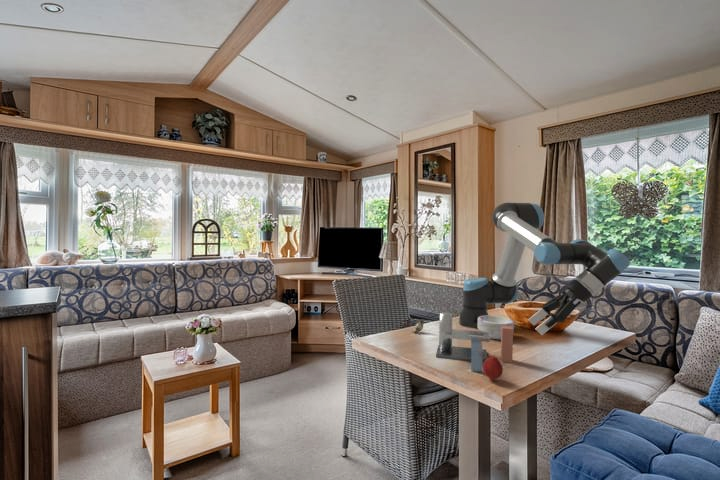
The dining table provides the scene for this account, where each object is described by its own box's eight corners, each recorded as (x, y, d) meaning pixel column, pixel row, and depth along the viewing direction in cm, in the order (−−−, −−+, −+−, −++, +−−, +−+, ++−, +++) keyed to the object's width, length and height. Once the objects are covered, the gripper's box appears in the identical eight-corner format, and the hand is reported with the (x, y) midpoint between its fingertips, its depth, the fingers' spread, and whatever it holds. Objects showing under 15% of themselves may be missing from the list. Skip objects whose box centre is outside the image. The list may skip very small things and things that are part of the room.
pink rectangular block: (511, 359, 128) (511, 326, 128) (512, 362, 125) (513, 329, 125) (500, 358, 129) (501, 325, 129) (501, 361, 126) (502, 328, 126)
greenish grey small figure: (417, 330, 166) (419, 317, 166) (427, 333, 163) (428, 320, 162) (410, 332, 163) (411, 319, 162) (420, 335, 159) (421, 322, 158)
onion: (486, 374, 114) (486, 350, 114) (504, 379, 110) (505, 354, 110) (479, 380, 109) (480, 354, 109) (498, 385, 106) (499, 359, 105)
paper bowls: (517, 342, 149) (518, 324, 149) (480, 340, 151) (480, 322, 151) (508, 332, 164) (509, 316, 164) (474, 331, 167) (475, 314, 166)
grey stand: (487, 352, 136) (488, 313, 136) (491, 373, 115) (492, 327, 115) (438, 347, 141) (439, 309, 141) (433, 366, 120) (434, 322, 120)
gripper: (607, 301, 107) (551, 345, 111) (581, 289, 131) (535, 326, 135) (587, 283, 108) (532, 327, 113) (565, 274, 132) (521, 311, 137)
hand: (534, 327), depth 124 cm, fingers open, 13 cm apart
